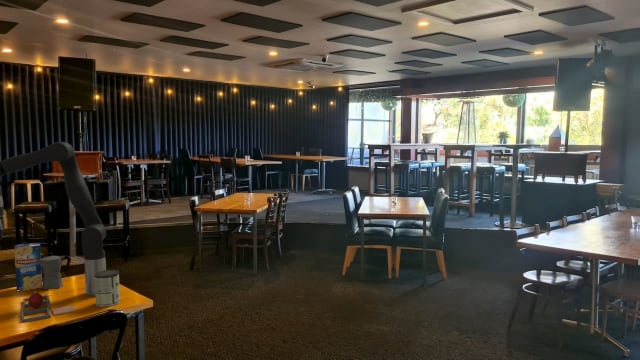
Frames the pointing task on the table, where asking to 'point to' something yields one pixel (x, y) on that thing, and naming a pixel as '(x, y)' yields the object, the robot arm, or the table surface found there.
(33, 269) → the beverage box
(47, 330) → the table surface
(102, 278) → the coffee can
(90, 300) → the table surface
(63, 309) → the tile
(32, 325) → the table surface
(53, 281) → the coffeepot
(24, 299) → the tray
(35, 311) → the tray
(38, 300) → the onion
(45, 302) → the tray
